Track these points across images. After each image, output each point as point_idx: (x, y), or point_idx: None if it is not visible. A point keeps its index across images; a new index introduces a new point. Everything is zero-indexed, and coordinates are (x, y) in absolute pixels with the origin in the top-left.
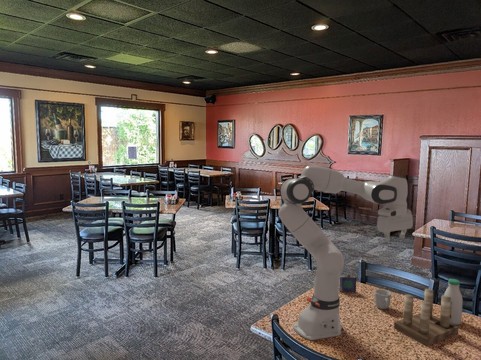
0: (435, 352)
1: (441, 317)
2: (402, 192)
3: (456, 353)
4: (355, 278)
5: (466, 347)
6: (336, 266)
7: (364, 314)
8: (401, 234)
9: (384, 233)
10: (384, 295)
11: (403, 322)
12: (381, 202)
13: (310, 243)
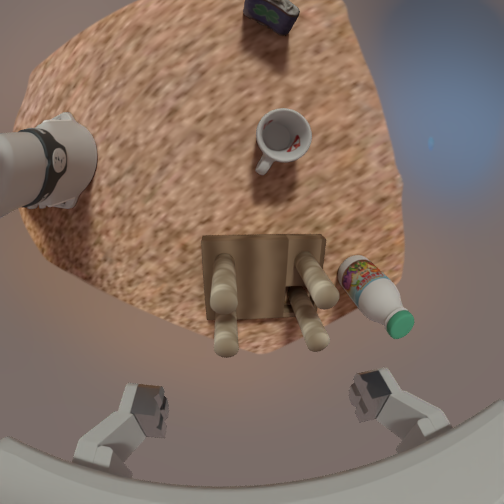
0: (205, 328)
1: (295, 308)
2: None
3: None
4: (291, 17)
5: (273, 338)
6: None
7: (190, 146)
8: (384, 403)
9: (84, 446)
10: (267, 155)
11: (215, 258)
12: None
13: None
